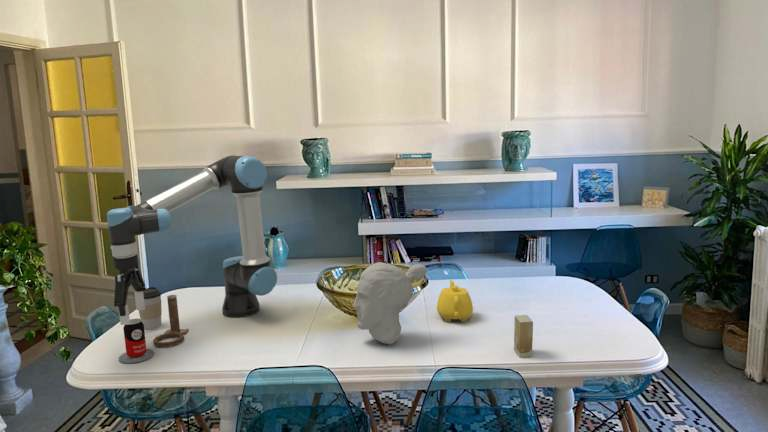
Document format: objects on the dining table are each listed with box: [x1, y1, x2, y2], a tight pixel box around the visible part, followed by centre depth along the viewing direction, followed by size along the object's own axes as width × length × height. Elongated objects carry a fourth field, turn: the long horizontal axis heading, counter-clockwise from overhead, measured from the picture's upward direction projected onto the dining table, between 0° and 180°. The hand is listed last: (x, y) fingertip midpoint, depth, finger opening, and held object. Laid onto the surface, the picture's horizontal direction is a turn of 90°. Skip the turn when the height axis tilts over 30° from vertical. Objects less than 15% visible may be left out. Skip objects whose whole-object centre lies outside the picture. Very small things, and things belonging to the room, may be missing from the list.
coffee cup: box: [138, 286, 163, 331], centre depth 217 cm, size 9×9×15 cm
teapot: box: [436, 279, 474, 323], centre depth 218 cm, size 14×20×13 cm
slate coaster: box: [118, 348, 155, 365], centre depth 190 cm, size 11×11×1 cm
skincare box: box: [513, 314, 534, 358], centre depth 182 cm, size 6×4×12 cm
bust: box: [352, 261, 427, 345], centre depth 196 cm, size 15×26×28 cm, turn 99°
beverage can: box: [122, 318, 148, 358], centre depth 189 cm, size 6×6×12 cm
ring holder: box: [152, 294, 190, 349], centre depth 204 cm, size 10×16×15 cm, turn 3°
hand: (133, 316), depth 188 cm, fingers open, 13 cm apart
